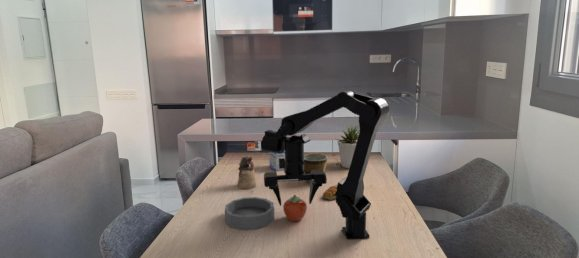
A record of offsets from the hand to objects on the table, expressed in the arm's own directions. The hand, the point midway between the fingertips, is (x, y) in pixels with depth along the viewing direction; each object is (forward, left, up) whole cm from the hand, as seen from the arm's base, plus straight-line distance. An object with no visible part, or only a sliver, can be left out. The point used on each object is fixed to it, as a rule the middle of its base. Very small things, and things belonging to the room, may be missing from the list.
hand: (295, 204), depth 122 cm
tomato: (0, 0, -5) cm, 5 cm away
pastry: (+17, -16, -5) cm, 24 cm away
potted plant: (+49, -30, -5) cm, 58 cm away
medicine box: (+51, +2, -5) cm, 51 cm away
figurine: (+31, +15, -5) cm, 35 cm away
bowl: (+2, +14, -5) cm, 15 cm away
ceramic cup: (+33, -10, -5) cm, 35 cm away
